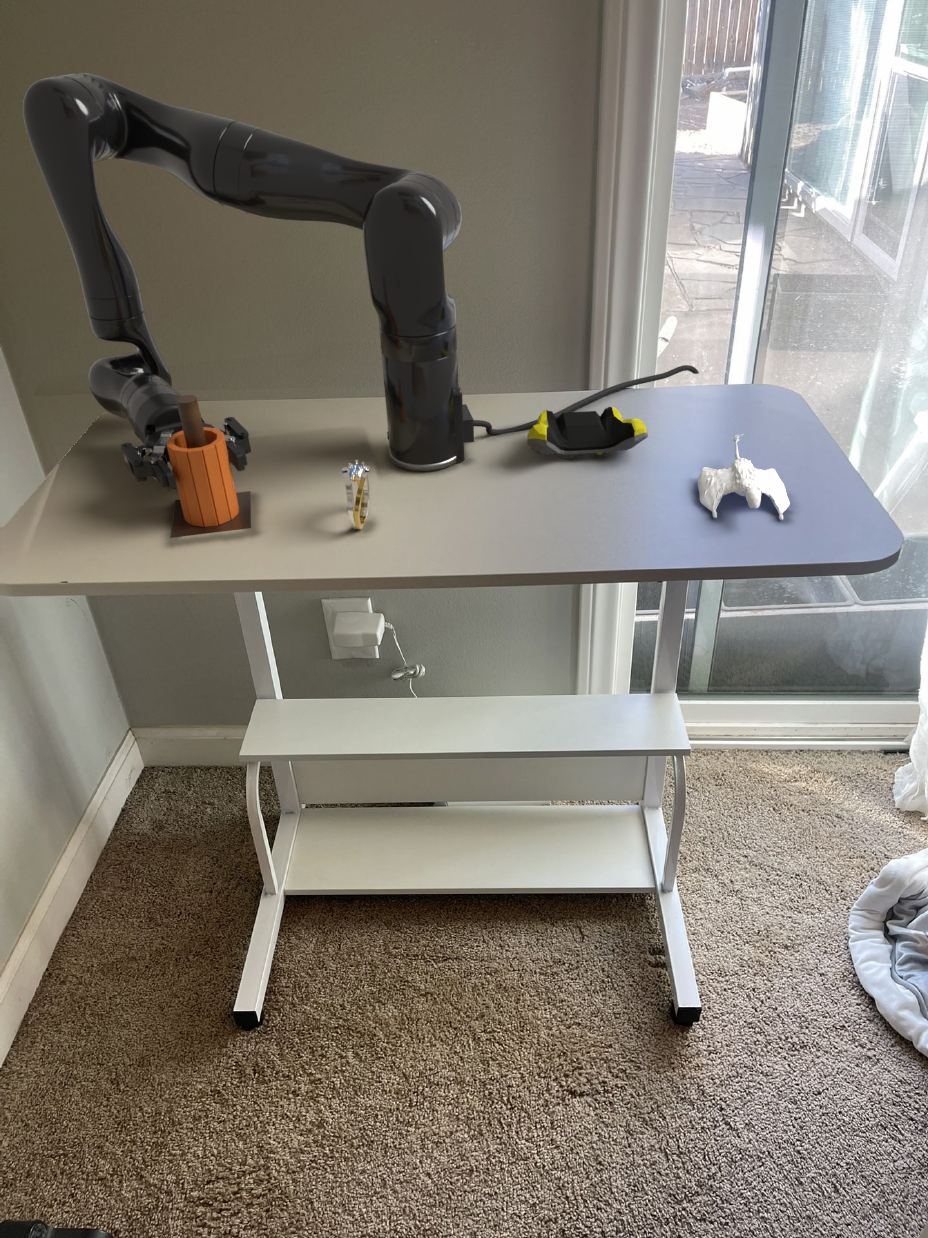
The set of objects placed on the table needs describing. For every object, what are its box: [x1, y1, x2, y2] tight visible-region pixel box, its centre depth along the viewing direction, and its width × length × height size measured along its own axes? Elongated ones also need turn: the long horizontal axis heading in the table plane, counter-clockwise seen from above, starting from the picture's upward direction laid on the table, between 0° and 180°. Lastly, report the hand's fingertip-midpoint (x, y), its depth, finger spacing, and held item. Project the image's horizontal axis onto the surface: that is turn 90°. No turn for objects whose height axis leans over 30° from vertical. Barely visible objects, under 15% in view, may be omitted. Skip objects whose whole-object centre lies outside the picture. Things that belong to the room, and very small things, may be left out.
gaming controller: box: [526, 405, 649, 459], centre depth 118 cm, size 15×6×10 cm
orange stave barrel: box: [167, 427, 239, 527], centre depth 105 cm, size 6×6×10 cm
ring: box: [341, 459, 371, 531], centre depth 103 cm, size 7×3×8 cm, turn 171°
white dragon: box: [697, 433, 791, 521], centre depth 108 cm, size 18×10×4 cm, turn 174°
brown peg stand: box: [170, 394, 252, 539], centre depth 104 cm, size 9×9×15 cm
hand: (207, 472), depth 103 cm, fingers open, 7 cm apart
